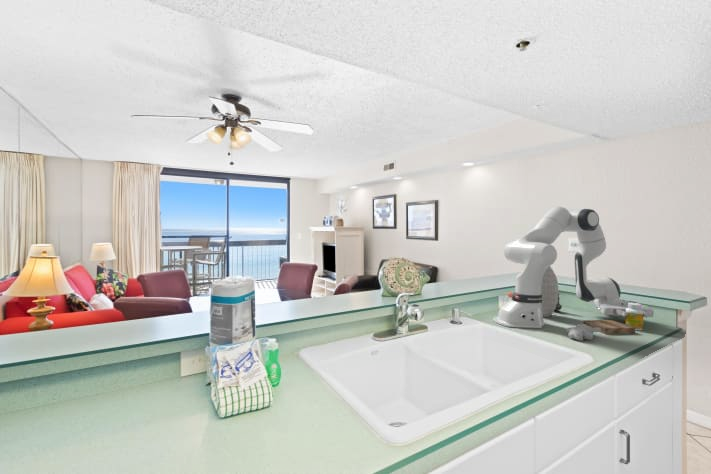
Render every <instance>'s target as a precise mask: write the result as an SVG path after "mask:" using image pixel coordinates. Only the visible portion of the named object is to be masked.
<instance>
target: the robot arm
mask: <svg viewBox="0 0 711 474" xmlns="http://www.w3.org/2000/svg"><path fill="white" fill-rule="evenodd" d="M564 232H569V233H570V232H573V233H574V232H575V233H576V235H577V241H578V250H577V252H576V253H575V254H574V273H575V274H574V275H575V289H574V291H575V295H576V297H577V298H578V299H579V300H581V301H584V302H585V303H589V302H592V301H593V302H594V304H595V306H596V307H595V308H596V309H598V310H599V312H601V313H602V314H604V315H607V316H608V315H609V316H614V317H616V318H625V316H628V312H625V310H626V309H627V308H629V307H628V303H637V304H641V303H640V302H638V301H632V300H626V299H622V298H620V297H621V294H622V293H621V288H620V285H619V284H618V282H617V281H616V280H614V279H613V278H611V277H608V276H607V277H602V278H598V279H597V278H596V279H594V280H589V281H588V276H587V274H588V273H587V267H588V265H589V264H590V263H591V262H592V261H593V260H596V259H597V258H598V257H601V255H603V254H604V252H605V251H606V248H607V242H606V237H605V234H604V230H603V229H602V227H601V224H600V217H599V214H598V213H597V212H596V211H595V210H594V209H591V208H584V209H570V210H568V209H567V208H565V207H562V206H554V207H551V209H549V210H547V212H546V213H545V214H544V215H543V216H541V218H540V219H539V220H538V222H537V223H536V224H535V225H534V226H533V228H531V230H529V231H528V232H527V233H525V234H524V235H522V236H520V237H519V238H518V239H516V240H514V241H511V242H508V243H507V244H506V245H505V247H504V250H503V254H504V257H505V258H506V259H507V260H508V261H510V262H513V263H515V264H522V265H524V268H523V270H522V271H521V272H520V273H518V274H517V275H516V276H515V288H514V290H515V292H514V293H512V292H508V293H507V297H509V298H511V299H510V300H509V301H508V302H507V303H505V304H503V305H502V306H501V307H500V308H499V311H498V315H497V316H494V317H493V321H494V323H496V324H499V325H501V326H504V327H506V328H507V327H508V328H524V329H525V328H526V329H527V328H528V329H529V328H530V329H542V328H543V327H544V326H545V325H546V324H545V321H544V317H543V315H542V307H541V305H542V294H541V288H542V278H543V275H544V272H545V271H546V269H547V268H548V267H549V266H550V267H551V265H553V264H555V262H556V260H557V259H558V251H557V249H556V247H555V246H554V245H553V243H555V241H556V240H557V239H558V238H559V236H560V235H561V234H562V233H564ZM641 310H642V311H643V312H644V314H643V318H653V317H654V315H655V313H654V312H655V311H654V309H653V308H652V307H649V306H646V305H643V304H641Z"/></svg>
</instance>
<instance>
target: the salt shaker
mask: <svg viewBox="0 0 711 474" xmlns="http://www.w3.org/2000/svg"><path fill="white" fill-rule="evenodd" d="M560 299H561V298H560V292H559V291H558V302H557V305H556V308H555V310H554V312H553V313H555V314H561V313H562V311H561V309H562V308H563V305H562V304H560Z"/></svg>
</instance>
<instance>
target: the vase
mask: <svg viewBox="0 0 711 474" xmlns="http://www.w3.org/2000/svg"><path fill="white" fill-rule="evenodd" d="M558 292H559V281H558V279H557V276H556V273H555V271H554V270H553V268H552V267H551V265H550V266H549V267H548V268H547V269H546V271H545V272H544V275H543V278H542V288H541V294H542V305H541V307H542V315H543V318H551V316H552V315H553V313H554V310H555V308H556V305H557V302H558Z"/></svg>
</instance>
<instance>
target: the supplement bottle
mask: <svg viewBox="0 0 711 474" xmlns="http://www.w3.org/2000/svg"><path fill="white" fill-rule="evenodd" d="M641 305H642V304H641V303H640V304H637V303H628V307H629V308H627V309H626V310H625V312H628V316H625V317H624V324H626V325H629V326H632V327H635V331H643V329H644V317H643V314H644V312H643V311H642V310H641Z"/></svg>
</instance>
